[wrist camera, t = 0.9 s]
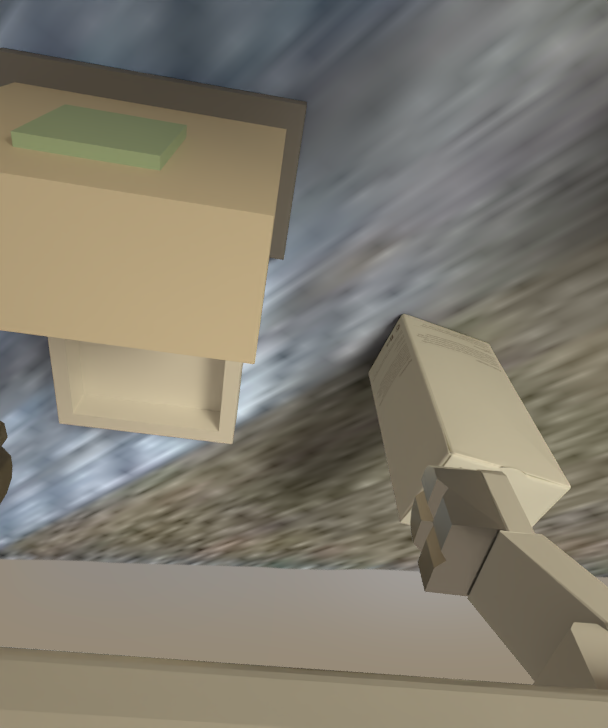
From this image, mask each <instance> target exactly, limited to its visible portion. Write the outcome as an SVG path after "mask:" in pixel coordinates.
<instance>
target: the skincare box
mask: <svg viewBox="0 0 608 728" xmlns="http://www.w3.org/2000/svg"><path fill="white" fill-rule="evenodd" d="M369 379H370V383H371V388H372V393H373V397H374V401H375V406H376V411H377V416H378V421H379V425H380V430H381V435H382V439H383V444H384V449H385V454H386V458H387V463H388V468H389V473H390V478H391V482H392V486H393V491H394V495H395V500H396V505H397V510H398V515H399V520H400V523H404V524H407V525H410V520H411V509H412V506H413V502H414V499H415V496H416V495H418V494H419V493H420V492H422V491H423V490H424V489H423V485H422V482H421V478H422V476H423V473H424V470H425V469H426V468H427V466H428V465H433V466H443V467H453V468H463V469H473V470H477V469H479V470H491V471H502V472H503V473H504V474H505V475H506V476H507V478H508V480H509V482H510V484H511V486H512V488H513V490H514V492H515V494H516V496H517V498H518V500H519V502H520V504H521V506H522V508H523V510H524V512H525V514H526V516H527V518H528V520H529V522H530V525H531V527H533V526H534V525H535V523H536V522H537V521H538V520H539V519H540V518H541V517H542V516H543V515H544V514H545V513H546V512H547V511H548V510H549V509H550V508H551V507H552V506H553V505H554V504H555V503H556V502H557V501H558V500H559V499H560V498H561V497H562V496H563V495H564V494H565V493H566V492H567V491H568V490H569V489H570V488H571V486H570V484H569V482H568V481H567V479H566V477H565V475H564V474H563V472H562V470H561V469H560V467H559V465H558V463H557V462H556V460H555V458H554V456H553V455H552V453H551V451H550V449H549V448H548V446H547V444H546V443H545V441H544V439H543V437H542V436H541V434H540V432H539V431H538V429H537V427H536V425H535V423H534V422H533V420H532V418H531V417H530V415H529V413H528V411H527V410H526V408H525V406H524V404H523V403H522V401H521V399H520V398H519V396H518V394H517V392H516V391H515V389H514V387H513V385H512V384H511V382H510V380H509V378H508V377H507V375H506V373H505V371H504V370H503V368H502V366H501V365H500V363H499V361H498V359H497V357H496V356H495V354H494V352H493V351H492V349H491V347H490V345H489V344H488V343H486V342H483V341H480V340H477V339H474V338H472V337H469V336H466V335H463V334H461V333H458V332H455V331H452V330H449V329H446V328H444V327H441V326H438V325H435V324H432V323H429V322H426V321H424V320H421V319H418V318H415V317H412V316H409V315H406V314H403V315H401V317H400V319H399V320H398V322H397V324H396V325H395V327H394V329H393V331H392V332H391V334H390V336H389V338H388V339H387V341H386V343H385V344H384V346H383V348H382V350H381V351H380V353H379V355H378V357H377V359H376V360H375V362H374V364H373V366H372V367H371V369H370V371H369Z"/></svg>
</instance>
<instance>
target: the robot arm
mask: <svg viewBox="0 0 608 728" xmlns="http://www.w3.org/2000/svg"><path fill="white" fill-rule="evenodd" d="M6 439H7V433H6V428H5V424H4V423H3V422H1V421H0V503H1V502H2V500H3V498H4V497H5V495H6V494H7V491H8V488H9V485H10V482H11V478H12V460H11V455H10V454H9V453H8V452H7V451H6V450H5V449H4V448H3V447H2V444H3V443H4V442H5V440H6ZM421 482H422V485H423V489H424V490H423V491H422V492H420V493H419V494H418V495H416V496H415V499H414V502H413V506H412V509H411V520H410V525H411V534H412V539H413V543H414V544H415V545H416V546H417V547H418V548H419V549H420V550H421V551H422V552H421V554H420V557H419V560H418V565H419V569H420V573H421V578H422V582H423V586H424V590H425V591H426V592H435V593H443V594H452V595H461V596H468V600H469V601H470V602H471V603H472V605H473V606H474V607H475V608H476V610H477V611H478V612H479V613H480V614H481V616H482V617H483V618H484V619H485V621H486V622H487V623H488V624H489V626H490V627H491V628H492V629H493V630H494V632H495V633H496V634H497V635H498V637H499V638H500V639H501V640H502V641H503V643H504V644H505V645H506V646H507V648H508V649H509V650H510V651H511V653H512V654H513V655H514V656H515V657H516V659H517V660H518V661H519V662H520V664H521V665H522V666H523V667H524V669H525V670H526V671H527V672H528V674H529V675H530V676H531V677H532V678H533V680H534V681H535V682H534V684H533V685H531V684H516V683H502V682H489V681H475V680H462V679H448V678H434V677H420V676H406V675H391V674H376V673H363V672H348V671H334V670H320V669H305V668H291V667H277V666H262V665H249V664H235V663H221V662H220V663H219V662H207V661H206V662H205V661H193V660H178V659H164V658H151V657H137V656H122V655H109V654H94V653H82V652H68V651H67V652H66V651H54V650H40V649H39V650H38V649H26V648H12V647H0V728H608V587H607V586H606V585H604V584H603V583H602V582H601V581H599V580H598V579H597V578H596V577H595V576H593V575H592V574H591V573H590V572H588V571H587V570H586V569H585V568H583V567H582V566H581V565H580V564H578V563H577V562H576V561H575V560H573V559H572V558H571V557H570V556H568V555H567V554H566V553H565V552H563V551H562V550H561V549H560V548H558V547H557V546H556V545H555V544H554V543H552V542H551V541H550V540H549V539H547V538H546V537H545V536H544V535H541V534H535V533H534V531H533V529H532V527H531V525H530V522H529V520H528V518H527V516H526V514H525V512H524V510H523V508H522V506H521V504H520V502H519V500H518V498H517V496H516V494H515V492H514V490H513V488H512V486H511V484H510V482H509V480H508V478H507V476H506V475H505V474H504V473H503V472H502V471H491V470H479V469H477V470H473V469H463V468H453V467H443V466H433V465H428V466H427V468H426V469H425V470H424V473H423V476H422V478H421Z"/></svg>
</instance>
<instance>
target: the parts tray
mask: <svg viewBox="0 0 608 728" xmlns="http://www.w3.org/2000/svg"><path fill="white" fill-rule="evenodd" d="M48 343H49V351H50V358H51V365H52V373H53V380H54V388H55V395H56V403H57V410H58V418H59V423H61V424H69V425H78V426H86V427H94V428H103V429H111V430H119V431H128V432H136V433H144V434H153V435H161V436H169V437H178V438H186V439H194V440H203V441H211V442H219V443H228V444H232V442H233V436H234V430H235V424H236V418H237V410H238V401H239V393H240V384H241V376H242V367H243V363H242V362H235V361H227V360H220V359H212V358H205V357H197V356H190V355H182V354H175V353H167V352H160V351H152V350H145V349H137V348H130V347H122V346H115V345H107V344H100V343H92V342H85V341H77V340H70V339H62V338H55V337H48Z"/></svg>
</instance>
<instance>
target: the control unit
mask: <svg viewBox="0 0 608 728" xmlns="http://www.w3.org/2000/svg"><path fill="white" fill-rule="evenodd" d="M306 107H307V102H304V101H299V100H293V99H287V98H282V97H276V96H271V95H265V94H259V93H254V92H248V91H243V90H237V89H231V88H226V87H220V86H215V85H209V84H203V83H198V82H192V81H186V80H181V79H175V78H170V77H164V76H158V75H153V74H147V73H142V72H136V71H130V70H125V69H119V68H114V67H108V66H102V65H97V64H91V63H85V62H80V61H74V60H69V59H63V58H57V57H52V56H46V55H41V54H35V53H29V52H24V51H18V50H12V49H7V48H0V330H3V331H10V332H18V333H25V334H33V335H40V336H48V337H55V338H62V339H70V340H77V341H85V342H92V343H100V344H107V345H115V346H122V347H130V348H137V349H145V350H152V351H160V352H167V353H175V354H182V355H190V356H197V357H205V358H212V359H220V360H227V361H235V362H242V363H250V364H255V357H256V349H257V342H258V335H259V328H260V321H261V313H262V306H263V299H264V292H265V285H266V277H267V270H268V263H269V258H275V259H282V260H284V253H285V247H286V240H287V233H288V227H289V220H290V213H291V207H292V200H293V193H294V187H295V180H296V173H297V167H298V160H299V153H300V147H301V140H302V133H303V127H304V120H305V114H306Z"/></svg>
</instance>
